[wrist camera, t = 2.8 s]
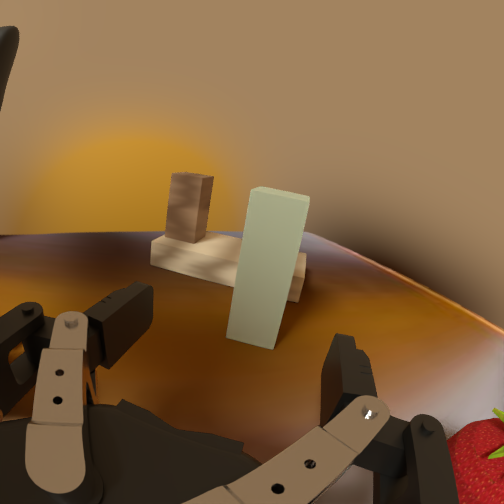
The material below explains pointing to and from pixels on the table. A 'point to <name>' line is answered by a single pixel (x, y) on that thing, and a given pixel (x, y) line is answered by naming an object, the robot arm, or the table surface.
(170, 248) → the base slab
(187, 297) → the table surface
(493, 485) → the strawberry
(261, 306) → the pillar
